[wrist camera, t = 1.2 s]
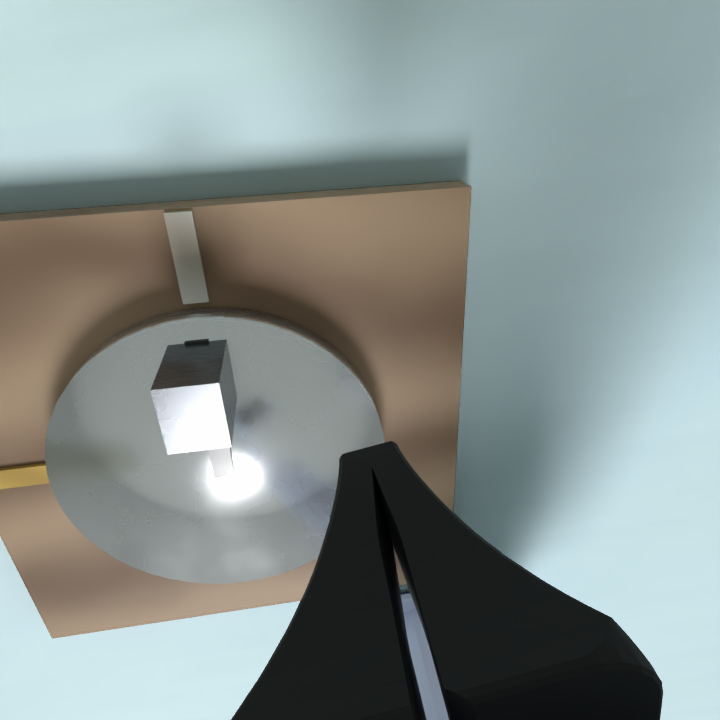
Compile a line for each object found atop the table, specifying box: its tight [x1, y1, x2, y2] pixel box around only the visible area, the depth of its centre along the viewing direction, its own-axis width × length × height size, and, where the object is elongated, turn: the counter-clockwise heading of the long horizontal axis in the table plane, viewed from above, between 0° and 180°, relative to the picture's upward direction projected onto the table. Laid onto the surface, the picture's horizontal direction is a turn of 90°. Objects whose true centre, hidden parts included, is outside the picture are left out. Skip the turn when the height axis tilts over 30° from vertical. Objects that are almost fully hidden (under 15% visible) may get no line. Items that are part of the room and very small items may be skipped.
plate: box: [0, 181, 471, 638], centre depth 23 cm, size 20×20×1 cm
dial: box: [45, 307, 384, 584], centre depth 20 cm, size 13×13×4 cm
